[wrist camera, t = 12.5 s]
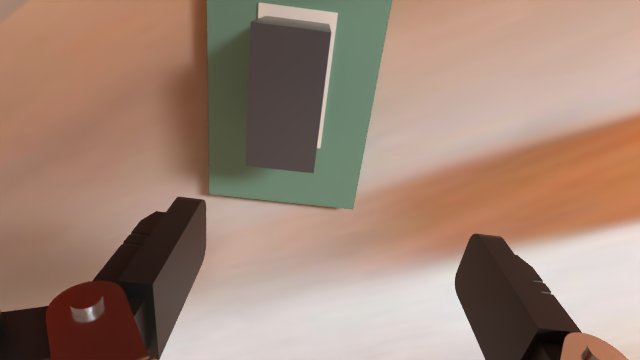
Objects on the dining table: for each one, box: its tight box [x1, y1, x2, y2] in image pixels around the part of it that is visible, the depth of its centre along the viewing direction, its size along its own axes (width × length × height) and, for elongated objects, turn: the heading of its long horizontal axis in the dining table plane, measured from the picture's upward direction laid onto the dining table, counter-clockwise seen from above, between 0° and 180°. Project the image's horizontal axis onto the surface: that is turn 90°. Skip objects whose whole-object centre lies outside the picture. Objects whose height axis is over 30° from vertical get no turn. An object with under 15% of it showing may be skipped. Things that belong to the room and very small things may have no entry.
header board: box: [207, 0, 392, 209], centre depth 26 cm, size 20×12×4 cm, turn 173°
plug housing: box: [246, 16, 331, 173], centre depth 24 cm, size 8×4×6 cm, turn 173°
